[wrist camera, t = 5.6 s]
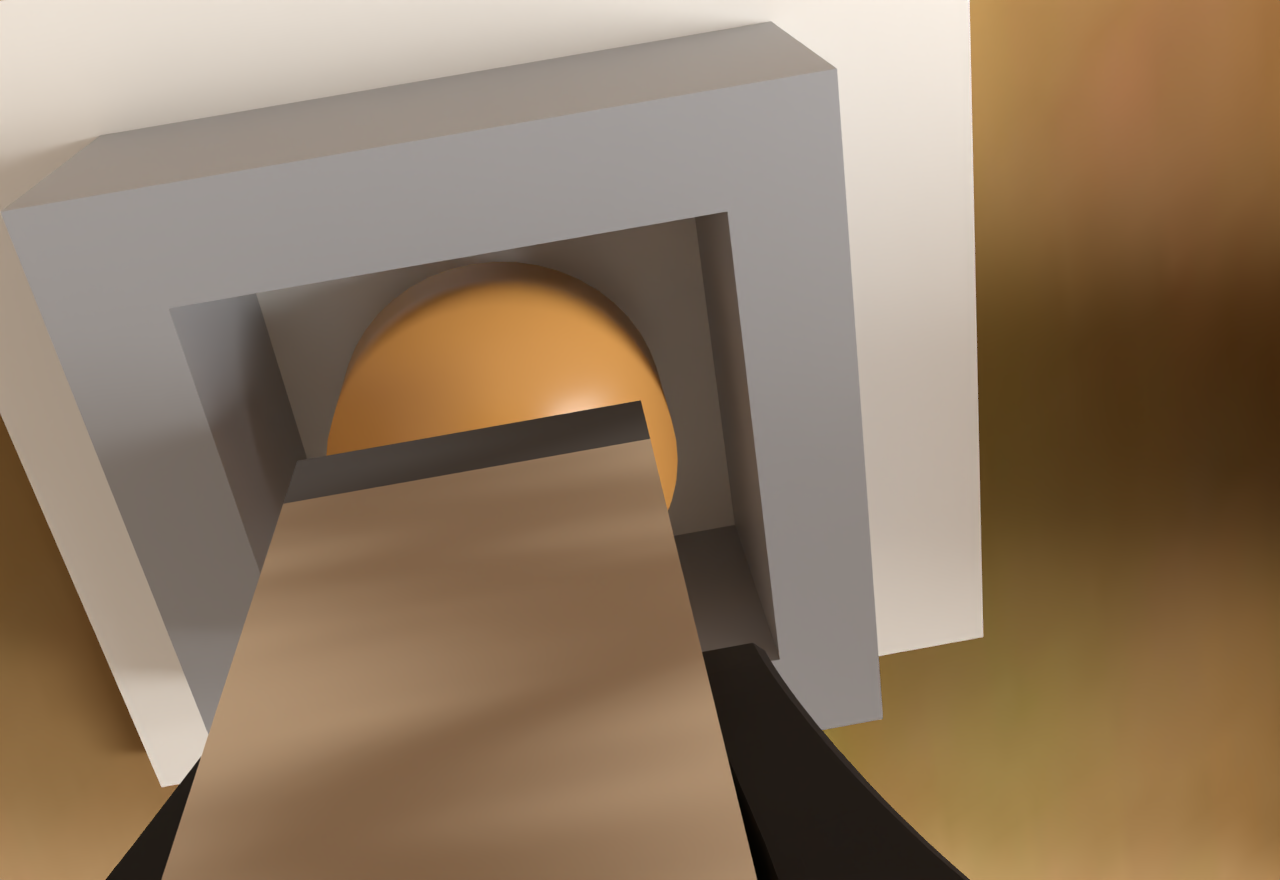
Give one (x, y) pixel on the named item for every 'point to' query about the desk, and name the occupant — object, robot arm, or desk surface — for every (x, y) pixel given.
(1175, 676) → the desk surface
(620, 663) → the brown wooden block
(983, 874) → the desk surface
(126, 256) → the socket base plate
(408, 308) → the button
